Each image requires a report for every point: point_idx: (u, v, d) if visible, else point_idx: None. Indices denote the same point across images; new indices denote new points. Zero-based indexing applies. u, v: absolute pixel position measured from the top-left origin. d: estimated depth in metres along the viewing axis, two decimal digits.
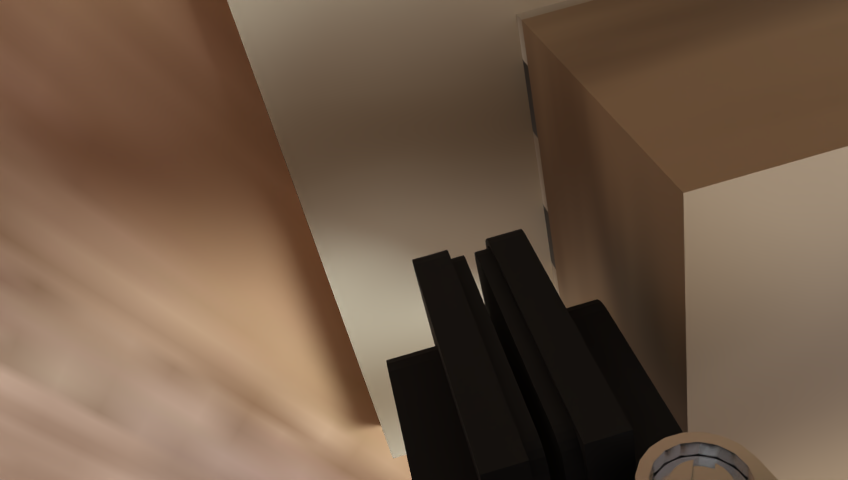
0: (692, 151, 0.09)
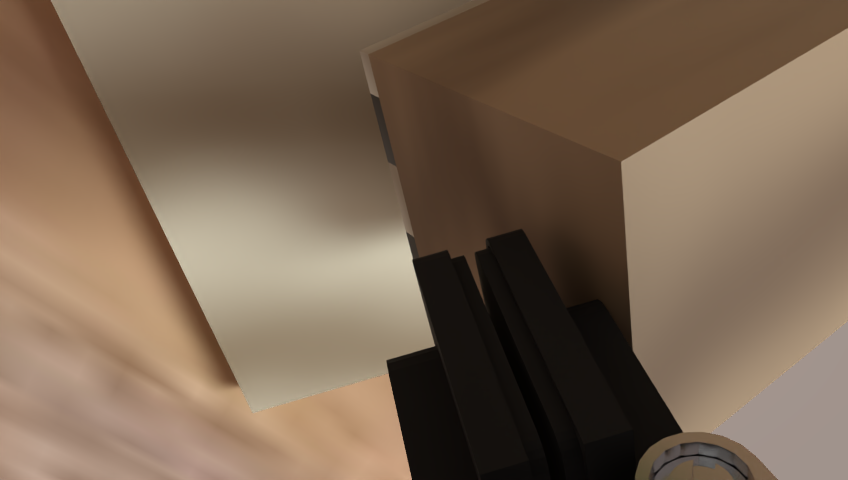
0: (605, 128, 0.10)
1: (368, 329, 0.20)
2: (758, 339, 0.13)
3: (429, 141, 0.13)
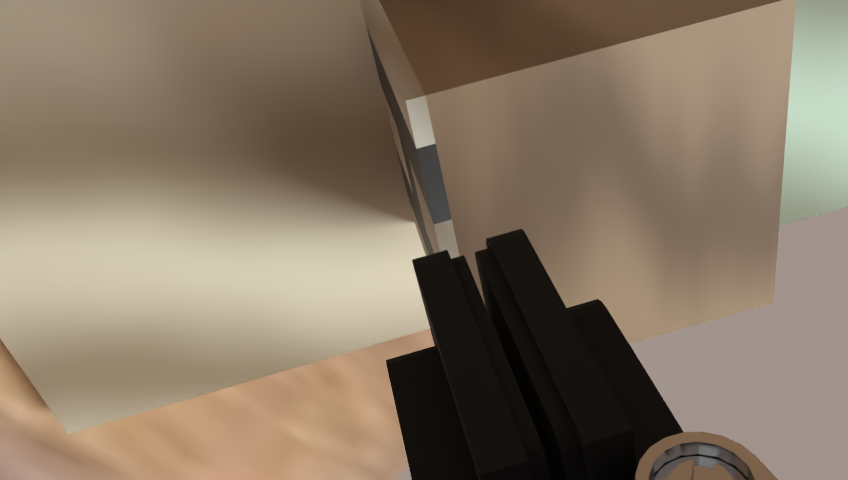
0: None
1: (172, 354, 0.21)
2: None
3: (529, 141, 0.12)
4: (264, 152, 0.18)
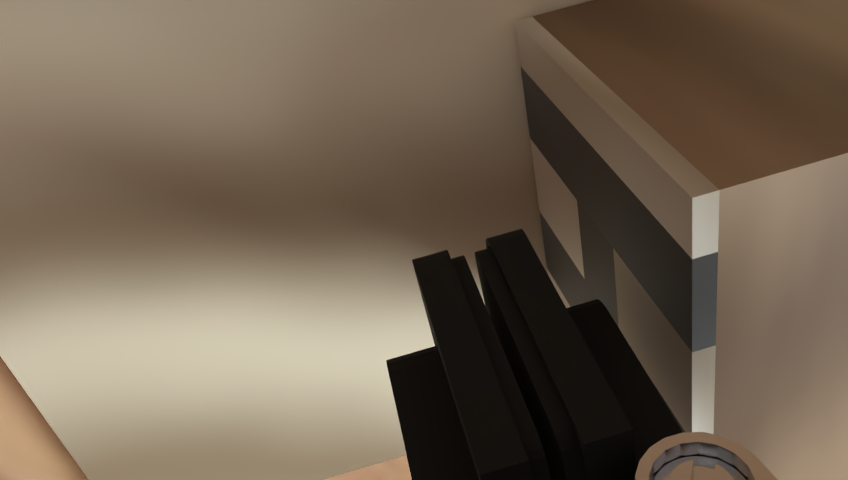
0: None
1: (255, 447, 0.17)
2: None
3: (835, 244, 0.09)
4: (382, 218, 0.15)
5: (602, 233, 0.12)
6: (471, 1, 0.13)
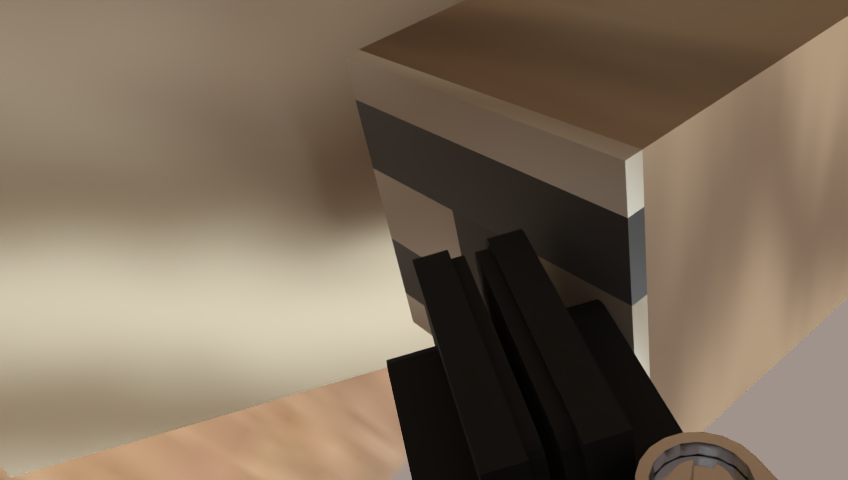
0: None
1: (116, 396, 0.20)
2: None
3: (716, 181, 0.10)
4: (205, 191, 0.17)
5: (493, 232, 0.12)
6: (258, 3, 0.15)
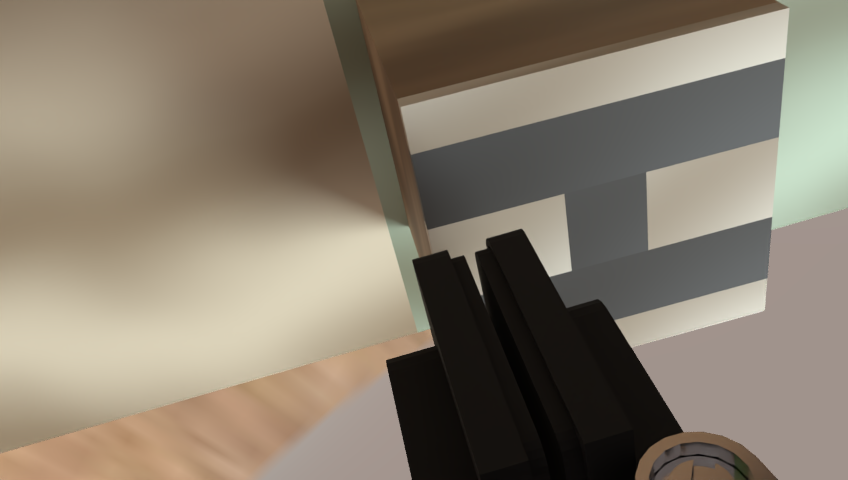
0: None
1: None
2: None
3: None
4: None
5: (624, 177, 0.13)
6: (25, 51, 0.16)
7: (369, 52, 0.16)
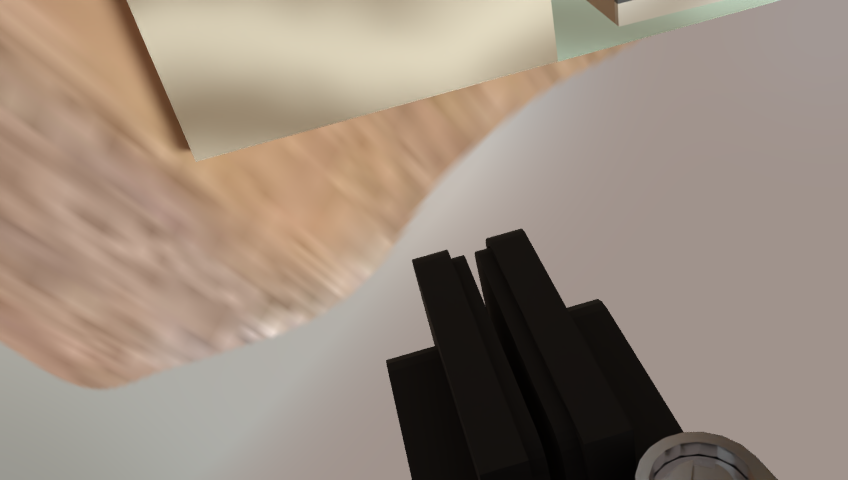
0: None
1: (265, 105, 0.33)
2: None
3: None
4: None
5: None
6: None
7: None
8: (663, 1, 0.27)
